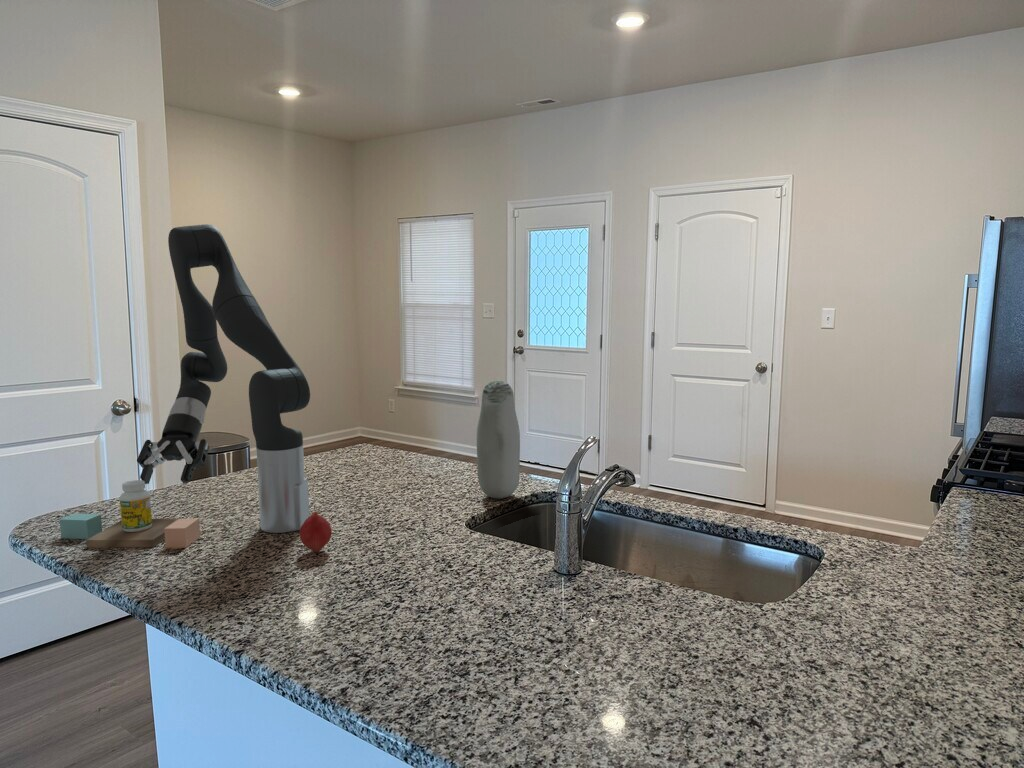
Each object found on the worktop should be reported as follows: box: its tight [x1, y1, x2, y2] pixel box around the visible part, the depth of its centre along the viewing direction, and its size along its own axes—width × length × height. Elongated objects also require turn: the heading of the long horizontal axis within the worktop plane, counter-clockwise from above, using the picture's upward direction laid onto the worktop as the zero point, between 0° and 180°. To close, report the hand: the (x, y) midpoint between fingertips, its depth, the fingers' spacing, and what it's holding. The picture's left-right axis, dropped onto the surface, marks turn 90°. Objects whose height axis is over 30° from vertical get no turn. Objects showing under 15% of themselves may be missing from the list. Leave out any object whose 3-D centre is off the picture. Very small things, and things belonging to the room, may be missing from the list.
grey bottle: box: [476, 380, 521, 500], centre depth 163 cm, size 10×10×28 cm
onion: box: [299, 510, 332, 553], centre depth 129 cm, size 6×6×8 cm
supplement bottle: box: [119, 479, 153, 532], centre depth 139 cm, size 5×5×10 cm
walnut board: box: [85, 517, 186, 549], centre depth 139 cm, size 13×13×2 cm
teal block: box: [59, 512, 103, 540], centre depth 140 cm, size 6×4×4 cm, turn 82°
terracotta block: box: [164, 518, 201, 549], centre depth 135 cm, size 6×4×4 cm, turn 0°
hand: (164, 482), depth 150 cm, fingers open, 8 cm apart
